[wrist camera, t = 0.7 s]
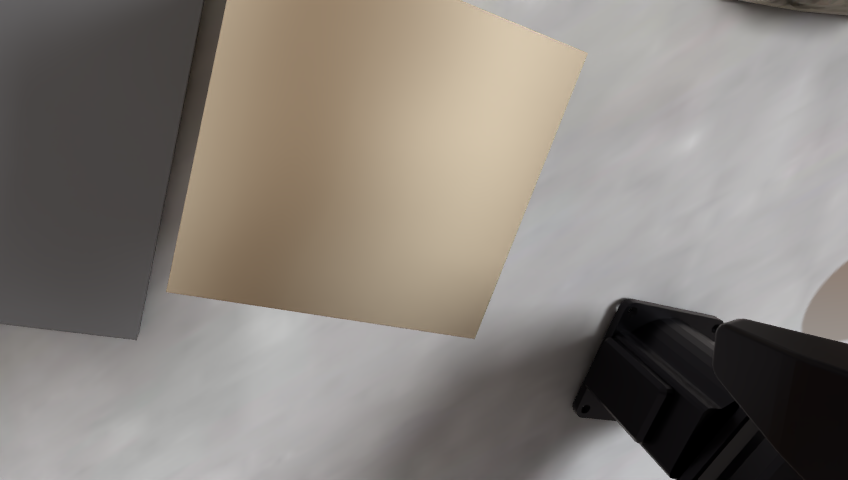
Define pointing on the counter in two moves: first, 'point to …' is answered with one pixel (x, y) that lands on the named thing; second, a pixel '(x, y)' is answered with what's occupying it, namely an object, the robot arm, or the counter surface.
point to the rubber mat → (87, 155)
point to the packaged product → (808, 5)
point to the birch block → (368, 158)
